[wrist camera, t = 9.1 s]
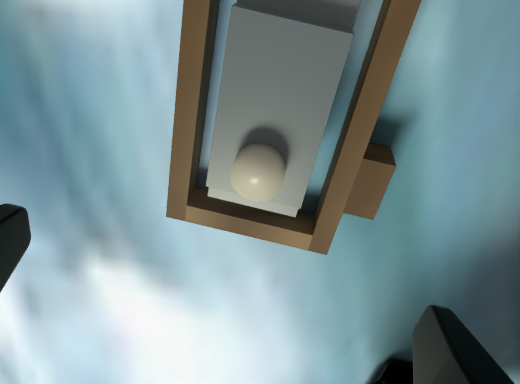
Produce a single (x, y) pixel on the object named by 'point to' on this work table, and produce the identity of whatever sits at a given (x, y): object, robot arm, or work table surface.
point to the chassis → (344, 159)
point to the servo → (276, 98)
